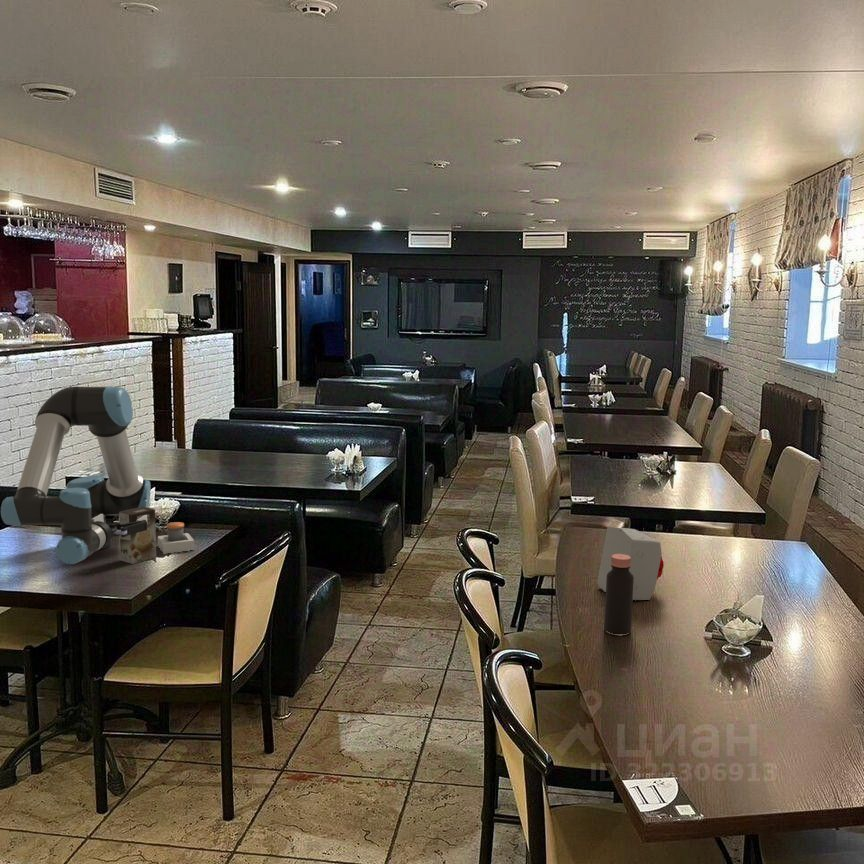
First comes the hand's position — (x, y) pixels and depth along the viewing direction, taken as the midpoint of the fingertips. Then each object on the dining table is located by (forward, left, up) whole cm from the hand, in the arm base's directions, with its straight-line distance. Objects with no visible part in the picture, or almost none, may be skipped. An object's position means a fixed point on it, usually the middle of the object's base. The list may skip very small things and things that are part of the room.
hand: (124, 518), depth 262 cm
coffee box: (-9, +5, -16) cm, 19 cm away
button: (-16, +18, -13) cm, 27 cm away
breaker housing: (-16, +18, -16) cm, 29 cm away
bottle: (+104, +106, -16) cm, 150 cm away
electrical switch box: (+83, +129, -16) cm, 154 cm away
